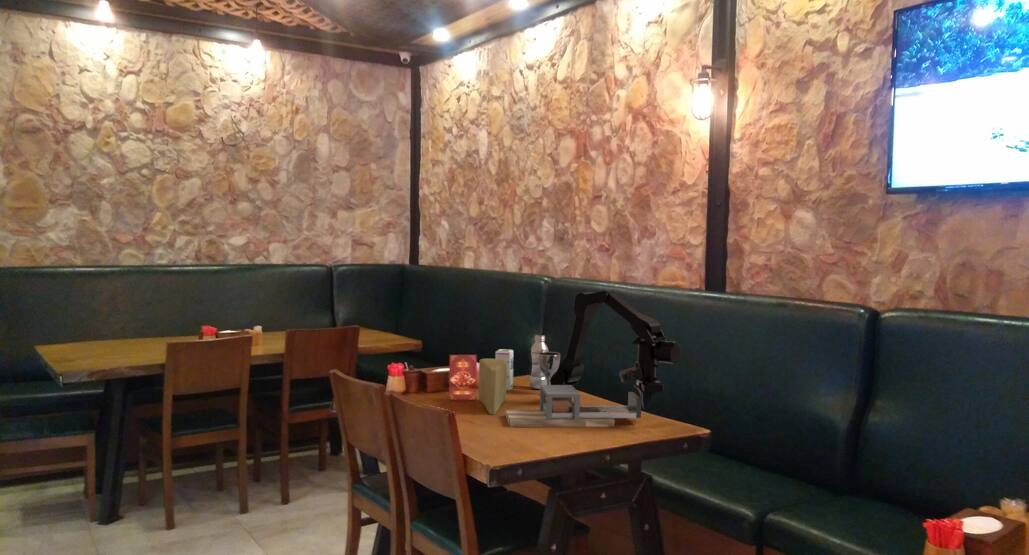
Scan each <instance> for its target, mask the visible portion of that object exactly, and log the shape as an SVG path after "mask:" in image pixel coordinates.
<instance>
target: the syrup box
mask: <svg viewBox="0 0 1029 555" xmlns="http://www.w3.org/2000/svg"><path fill="white" fill-rule="evenodd" d="M495 359H505V360H507V388H506V391H508V392H509V391H511V390H512V389H513V388H514V350H513V349H509V348H508V349H507V348H506V349H505V348H502V349H501V348H499V349H498V350H496V351H495Z"/></svg>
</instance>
